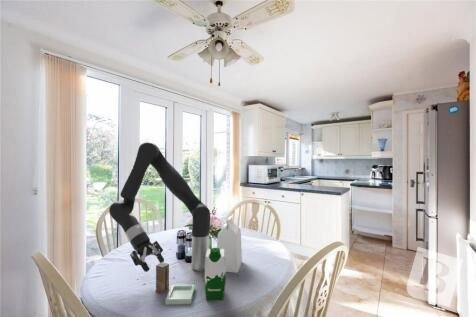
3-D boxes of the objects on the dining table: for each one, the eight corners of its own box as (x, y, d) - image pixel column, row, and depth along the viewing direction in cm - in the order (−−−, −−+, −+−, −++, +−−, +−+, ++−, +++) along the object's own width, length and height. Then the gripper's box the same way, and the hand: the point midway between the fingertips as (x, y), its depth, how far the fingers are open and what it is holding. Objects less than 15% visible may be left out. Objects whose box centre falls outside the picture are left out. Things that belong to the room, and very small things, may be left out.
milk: (237, 272, 110) (238, 221, 111) (216, 270, 113) (216, 220, 113) (242, 261, 122) (242, 215, 122) (222, 259, 124) (222, 214, 125)
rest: (194, 289, 96) (194, 284, 96) (190, 303, 86) (190, 298, 86) (172, 289, 96) (172, 284, 96) (165, 304, 86) (165, 299, 86)
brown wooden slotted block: (162, 287, 97) (162, 261, 98) (168, 289, 96) (169, 263, 96) (155, 291, 94) (156, 265, 94) (162, 294, 93) (163, 267, 93)
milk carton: (203, 301, 88) (203, 252, 88) (206, 288, 97) (206, 243, 97) (225, 301, 88) (225, 252, 88) (225, 288, 97) (226, 243, 97)
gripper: (128, 236, 94) (147, 269, 89) (153, 227, 107) (171, 255, 102) (119, 246, 96) (137, 278, 91) (145, 236, 109) (162, 264, 104)
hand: (155, 266), depth 97 cm, fingers open, 8 cm apart
